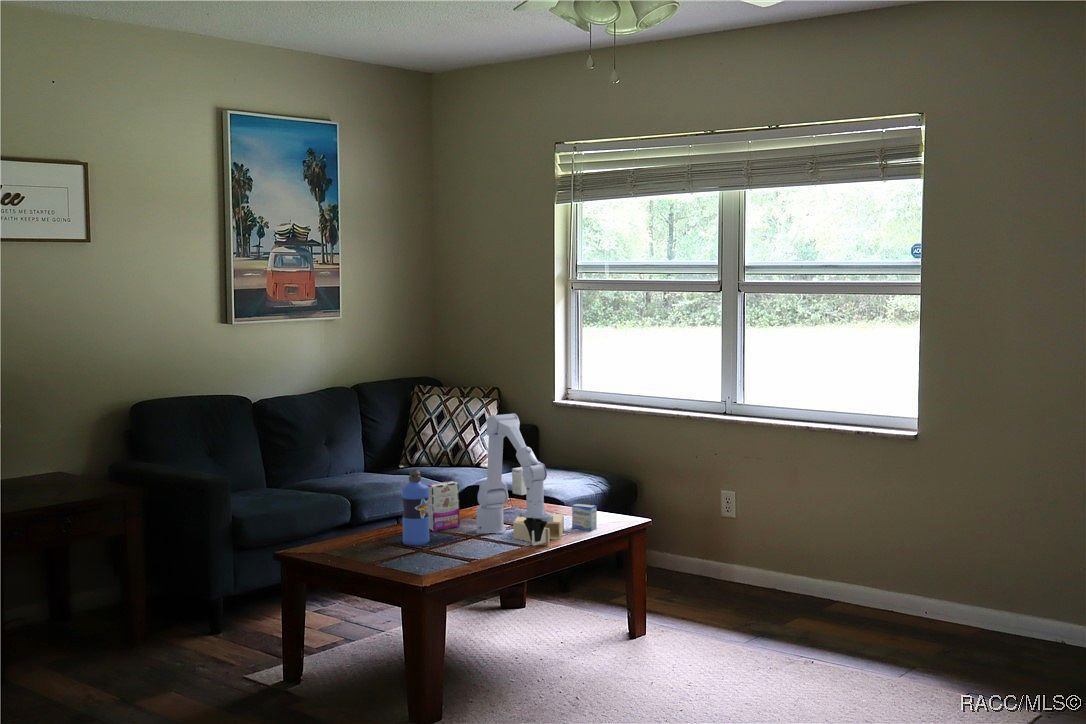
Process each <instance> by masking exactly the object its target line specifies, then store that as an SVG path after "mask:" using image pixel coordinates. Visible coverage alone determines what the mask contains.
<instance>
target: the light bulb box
mask: <svg viewBox="0 0 1086 724" xmlns="http://www.w3.org/2000/svg"><path fill="white" fill-rule="evenodd" d="M511 480H512V481H511V482H512V484H511V485H512V488H511V489H512V491H511V492H512V494H514V495H519V496H524V495H526V487H525V482H524V478H523V469H522V467H521V466H520V467H515V468H514V467H513V468H511Z"/></svg>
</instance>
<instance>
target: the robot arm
mask: <svg viewBox="0 0 1086 724" xmlns="http://www.w3.org/2000/svg"><path fill="white" fill-rule="evenodd" d="M520 425H521V422H520V419H519V416H518V415H517V414H516V413H513V412H512V413H505V414H504V413H503V414H496V415H494V414H491V415H490V416H489V417H488V418H487V419H486V436H488V445H487V446H488V447H487V470H486V479H484V481H483V482H482V483H480V484H479V489H478V492H477V502H478V504H479V506H477V507H476V515H475V516H476V534H489V533H496V534H499V535H500V534H504V532H505V530H507V528H506V527H504V507H506V504H507V503H508V500H509V493H508V485H507V483H506V482H504V481H503V480H502V477H503V476H502V475H503V474H502V473H503V453H504V451H503V450H504V438H505V437H507V438H508V440H509V441H510V443H511V444H512V446H513V448H514V450H515V451H516V453H515V457H516V459H517V461H518V463H519V464H520V467H522V469H523V478H524V482H525V487H526V494H525V495H526V497H525V498H526V510H523V509H522V510H517V516H518V517H525V518H526V520H524V524H525V525H526V527H527V529H528V532H529V536H530V539H531V541H532V531H534V538H535V542H538V541H541V537H542V533H543V530H544V527H545V525H546V524H547V522H548V523H550V522H553V516H551V515H548V513H545V508H544V507H545V506H544V505H545V504H544V503H545V499H544V496H545V495H544V490H545V489H544V487H545V486H544V481H545V480H546V479H547V477H548V471H547V468H546V465H545V464H544V463H542V462H541V461H539V459H537V456H536V455H535V453H534V451H533V450H532V448H531V447H530V446H527V445H526V443H525V440H524V438H523V436H522V433H521V431H520Z"/></svg>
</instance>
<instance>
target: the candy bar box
mask: <svg viewBox="0 0 1086 724" xmlns="http://www.w3.org/2000/svg"><path fill="white" fill-rule="evenodd" d="M426 485H427V486H429V496H428V507H427V508H428V514H429V529H430V530H429V531H431V530H432V532H438V530H439V531H445V530H448V529H449V530H450V528H451V529H455V528H456V529H457V528H460V526H461V525H460V519H461V518H460V494H459V493H460V491H459V482H456V481H453V480H451V481H443V482H437V483H430V484H426ZM444 529H445V530H444Z"/></svg>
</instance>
